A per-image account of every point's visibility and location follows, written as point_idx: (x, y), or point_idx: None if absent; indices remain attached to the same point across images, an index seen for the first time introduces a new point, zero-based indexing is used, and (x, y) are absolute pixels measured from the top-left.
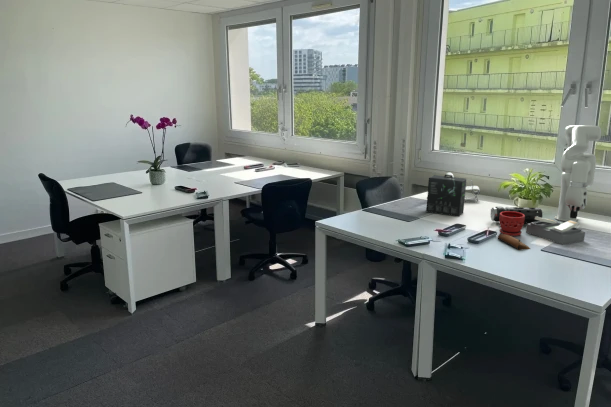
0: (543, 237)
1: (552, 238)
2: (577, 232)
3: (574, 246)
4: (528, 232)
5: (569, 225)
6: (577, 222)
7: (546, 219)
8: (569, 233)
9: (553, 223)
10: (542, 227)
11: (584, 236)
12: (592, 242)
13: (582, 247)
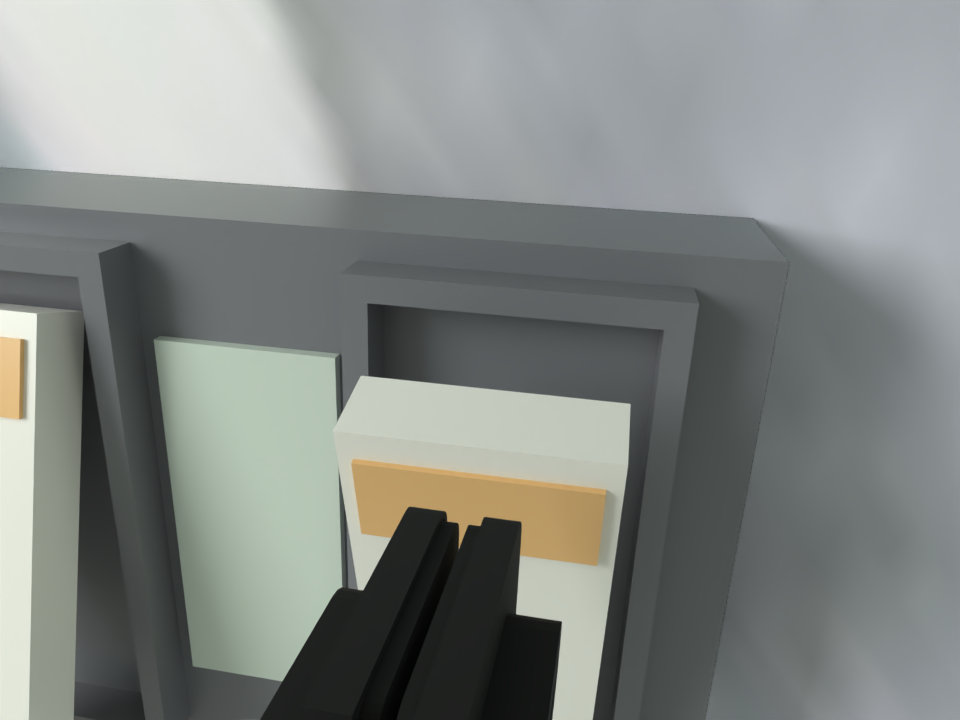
0: None
1: None
2: (695, 437)
3: (831, 629)
4: None
5: None
6: (611, 475)
7: (30, 693)
8: (652, 635)
9: (76, 413)
10: (182, 700)
11: (770, 242)
12: (907, 138)
13: (943, 576)
